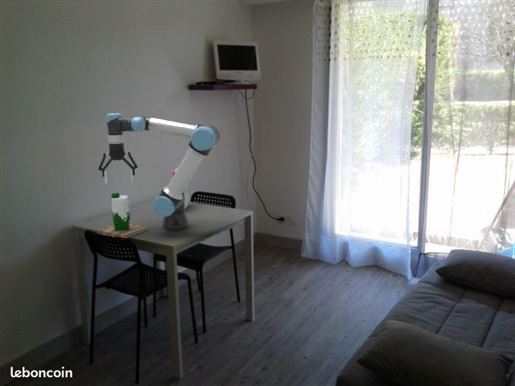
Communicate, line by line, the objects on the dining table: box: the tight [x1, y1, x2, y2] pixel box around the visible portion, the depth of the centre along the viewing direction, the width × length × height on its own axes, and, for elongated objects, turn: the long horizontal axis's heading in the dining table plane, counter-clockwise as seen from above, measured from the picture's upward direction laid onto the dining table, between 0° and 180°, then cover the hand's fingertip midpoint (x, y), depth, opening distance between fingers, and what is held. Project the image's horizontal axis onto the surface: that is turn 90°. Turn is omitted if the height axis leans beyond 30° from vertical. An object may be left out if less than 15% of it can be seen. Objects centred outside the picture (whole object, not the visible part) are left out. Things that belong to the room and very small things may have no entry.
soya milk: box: [111, 192, 131, 231], centre depth 246 cm, size 9×9×20 cm
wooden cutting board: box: [96, 223, 148, 239], centre depth 248 cm, size 20×18×2 cm
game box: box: [172, 167, 190, 210], centre depth 295 cm, size 21×6×27 cm, turn 178°
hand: (119, 182), depth 242 cm, fingers open, 13 cm apart
